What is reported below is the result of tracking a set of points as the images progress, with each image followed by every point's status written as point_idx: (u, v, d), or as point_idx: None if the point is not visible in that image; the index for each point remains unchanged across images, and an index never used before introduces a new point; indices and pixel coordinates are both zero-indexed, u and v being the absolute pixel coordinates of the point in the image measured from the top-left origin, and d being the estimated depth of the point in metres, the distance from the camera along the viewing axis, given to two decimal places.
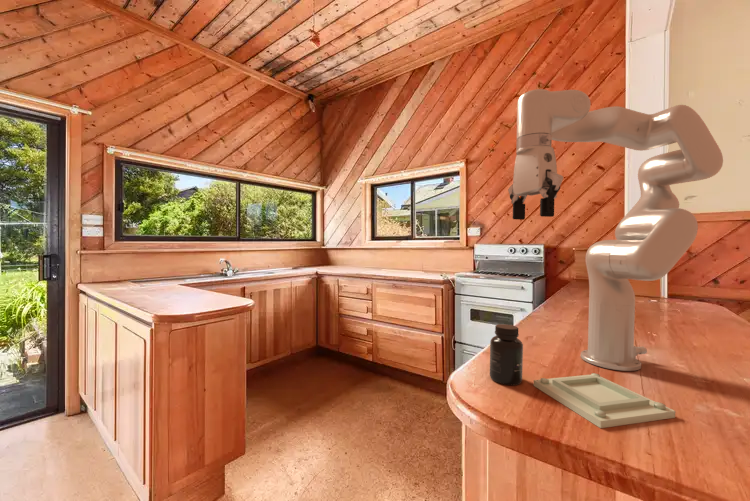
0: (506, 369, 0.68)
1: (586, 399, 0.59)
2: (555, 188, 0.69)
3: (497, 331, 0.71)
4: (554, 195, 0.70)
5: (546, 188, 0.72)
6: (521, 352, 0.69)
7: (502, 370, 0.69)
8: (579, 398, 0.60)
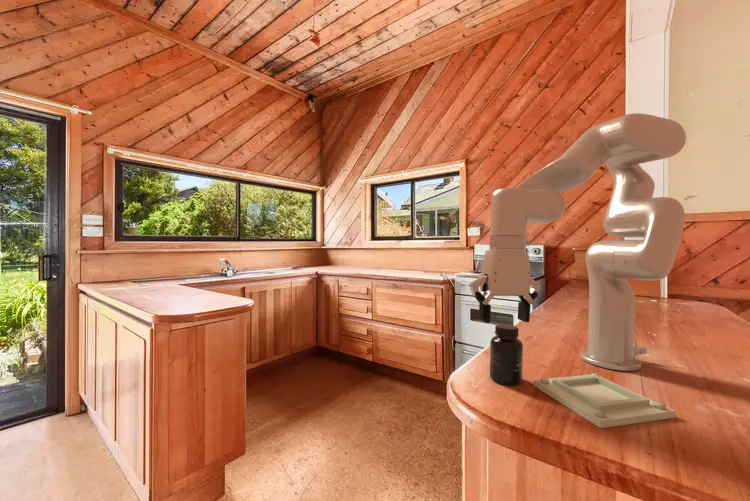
0: (506, 369, 0.68)
1: (586, 399, 0.59)
2: None
3: (497, 331, 0.71)
4: None
5: None
6: (521, 352, 0.69)
7: (502, 370, 0.69)
8: (579, 398, 0.60)
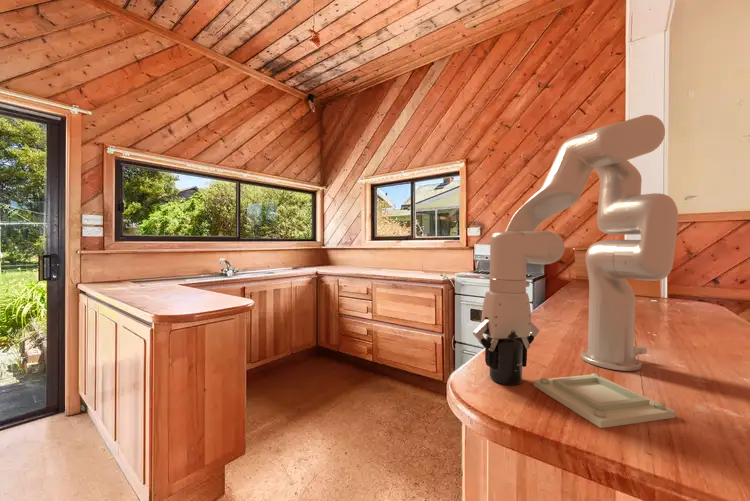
0: (506, 369, 0.68)
1: (586, 399, 0.59)
2: None
3: None
4: None
5: None
6: (521, 352, 0.69)
7: (502, 370, 0.69)
8: (579, 398, 0.60)
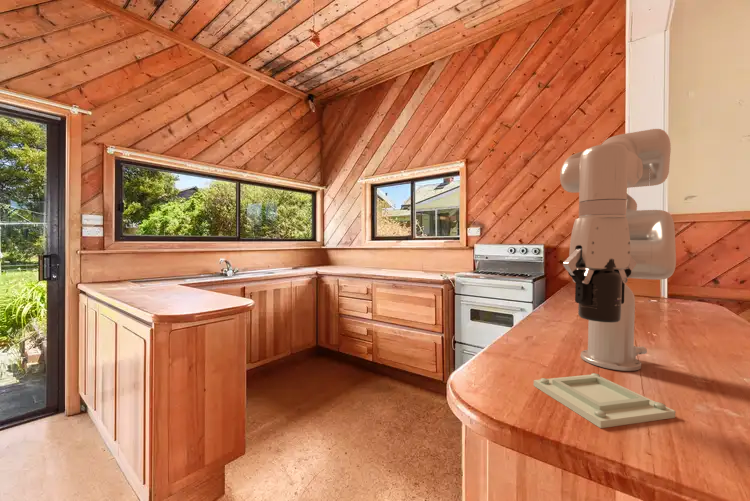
0: (605, 304, 0.59)
1: (586, 399, 0.59)
2: None
3: None
4: None
5: None
6: (621, 284, 0.60)
7: (600, 305, 0.59)
8: (579, 398, 0.60)
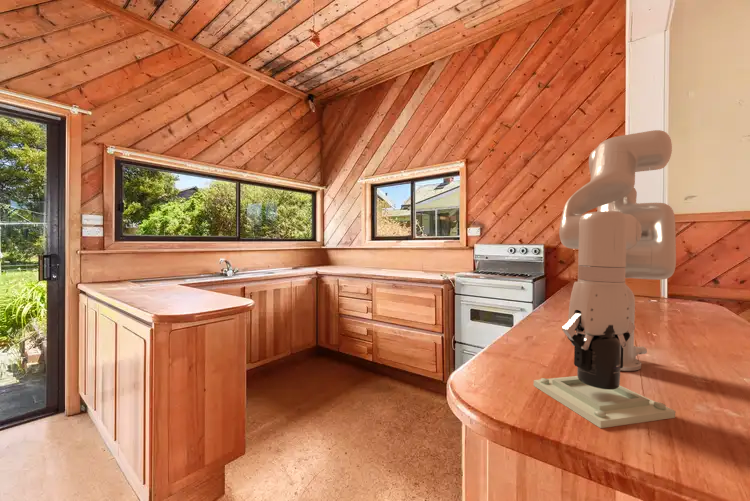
0: (604, 371, 0.59)
1: (586, 399, 0.59)
2: None
3: None
4: None
5: None
6: (620, 351, 0.60)
7: (599, 371, 0.59)
8: (579, 398, 0.60)
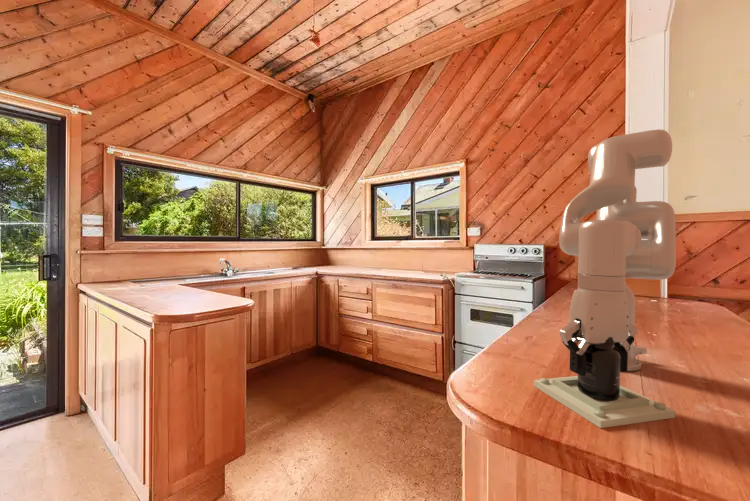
0: (604, 383, 0.59)
1: (586, 399, 0.59)
2: None
3: None
4: None
5: None
6: (620, 363, 0.60)
7: (598, 383, 0.60)
8: (579, 398, 0.60)
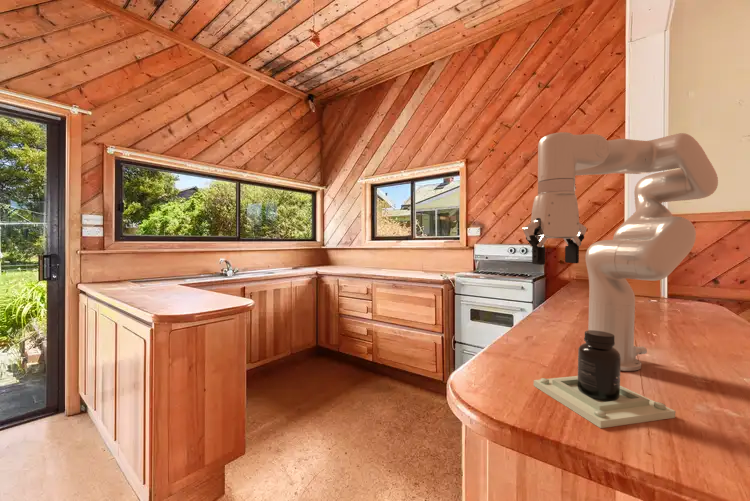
0: (604, 383, 0.59)
1: (586, 399, 0.59)
2: None
3: (589, 338, 0.62)
4: None
5: None
6: (620, 363, 0.60)
7: (599, 383, 0.60)
8: (579, 398, 0.60)
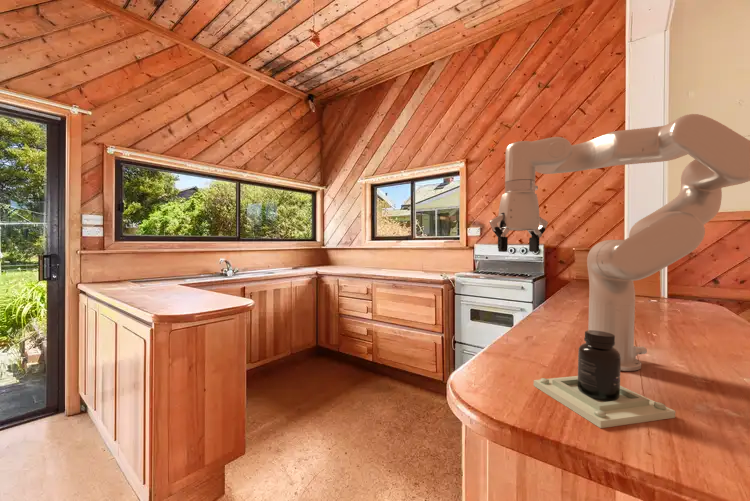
0: (604, 383, 0.59)
1: (586, 399, 0.59)
2: None
3: (589, 338, 0.62)
4: None
5: None
6: (620, 363, 0.60)
7: (599, 383, 0.60)
8: (579, 398, 0.60)
